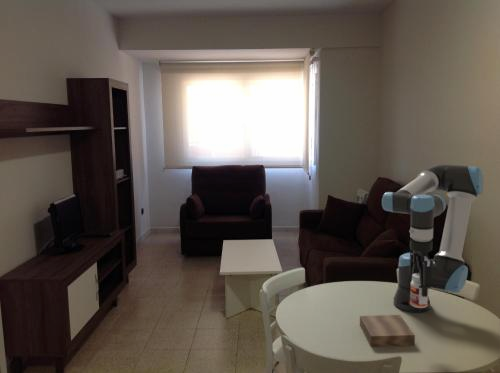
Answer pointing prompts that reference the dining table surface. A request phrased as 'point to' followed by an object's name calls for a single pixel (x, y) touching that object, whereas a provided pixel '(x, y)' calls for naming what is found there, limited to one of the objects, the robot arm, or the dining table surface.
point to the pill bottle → (416, 291)
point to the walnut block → (386, 330)
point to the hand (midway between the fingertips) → (418, 299)
